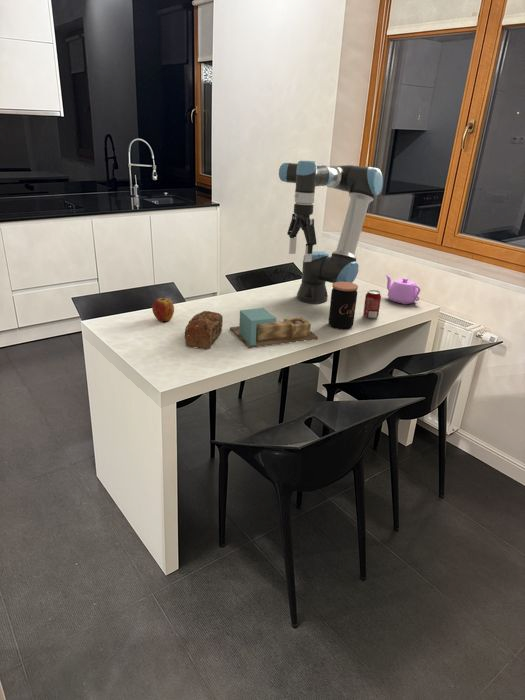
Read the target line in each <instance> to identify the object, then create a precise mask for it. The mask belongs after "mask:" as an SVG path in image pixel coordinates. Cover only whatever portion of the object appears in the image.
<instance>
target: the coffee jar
mask: <svg viewBox="0 0 525 700" xmlns="http://www.w3.org/2000/svg"><path fill="white" fill-rule="evenodd" d="M331 284H332V286H331V287H332V289H331V295H330V304H329V312H328V313H329V314H328V324H329V327H331V328H333V329H335V330H341V331H342V330H343V331H344V330H350V329H352V327H353V325H354V322H355V316H356V315H355V313H356V308H357V307H356V306H357V298H358V289H359V285H357V284H356V283H354V282H352V283H350V282H335V283H331Z"/></svg>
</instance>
